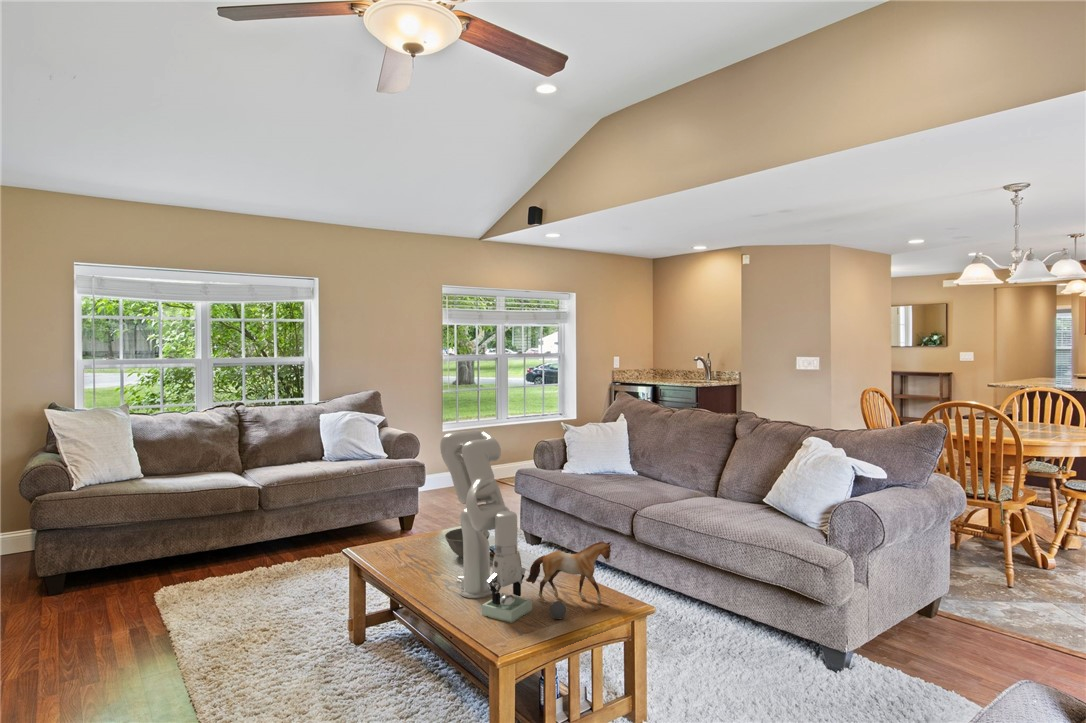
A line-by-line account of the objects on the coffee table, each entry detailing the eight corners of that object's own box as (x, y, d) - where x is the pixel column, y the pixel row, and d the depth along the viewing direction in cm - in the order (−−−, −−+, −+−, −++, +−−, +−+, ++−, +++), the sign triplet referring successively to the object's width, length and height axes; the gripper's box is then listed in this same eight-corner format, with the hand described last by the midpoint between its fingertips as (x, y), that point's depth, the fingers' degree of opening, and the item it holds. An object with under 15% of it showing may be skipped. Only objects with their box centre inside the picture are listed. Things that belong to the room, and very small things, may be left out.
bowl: (440, 554, 279) (439, 531, 279) (481, 547, 287) (481, 525, 287) (452, 567, 262) (452, 542, 262) (496, 560, 270) (496, 536, 270)
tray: (481, 615, 215) (481, 604, 215) (503, 602, 225) (503, 592, 225) (511, 623, 209) (511, 612, 209) (531, 610, 219) (531, 599, 219)
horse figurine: (613, 598, 228) (612, 540, 228) (612, 607, 221) (611, 547, 220) (526, 594, 233) (525, 537, 233) (522, 602, 226) (521, 543, 225)
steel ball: (495, 611, 216) (495, 595, 216) (505, 606, 221) (505, 590, 221) (508, 615, 213) (508, 599, 213) (518, 609, 218) (518, 593, 218)
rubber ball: (546, 619, 211) (546, 602, 211) (555, 613, 216) (555, 597, 216) (561, 623, 208) (560, 606, 208) (569, 617, 213) (569, 600, 213)
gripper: (495, 557, 208) (495, 610, 208) (532, 545, 220) (532, 595, 221) (479, 552, 213) (479, 604, 213) (516, 540, 225) (517, 589, 226)
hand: (506, 599), depth 217 cm, fingers open, 9 cm apart
